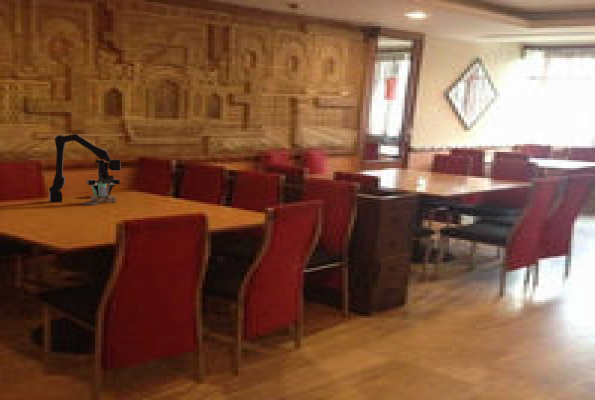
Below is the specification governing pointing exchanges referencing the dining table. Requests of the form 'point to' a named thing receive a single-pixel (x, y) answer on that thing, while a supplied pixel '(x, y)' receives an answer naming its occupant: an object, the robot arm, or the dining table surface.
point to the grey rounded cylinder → (103, 192)
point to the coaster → (89, 203)
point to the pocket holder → (104, 199)
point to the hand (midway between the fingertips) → (103, 196)
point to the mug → (98, 188)
